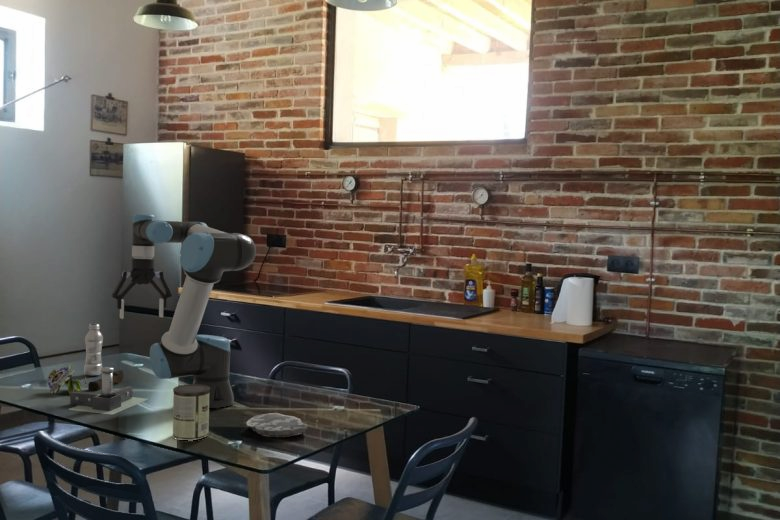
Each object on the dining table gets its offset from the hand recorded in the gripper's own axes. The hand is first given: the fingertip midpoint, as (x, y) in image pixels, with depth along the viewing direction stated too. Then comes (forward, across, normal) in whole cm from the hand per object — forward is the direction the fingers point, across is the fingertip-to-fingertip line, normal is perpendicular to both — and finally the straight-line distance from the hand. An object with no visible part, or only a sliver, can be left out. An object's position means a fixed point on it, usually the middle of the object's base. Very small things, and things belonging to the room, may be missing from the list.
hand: (141, 317), depth 255 cm
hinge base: (+26, +18, +16) cm, 36 cm away
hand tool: (+27, +8, -13) cm, 31 cm away
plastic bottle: (+27, +10, -32) cm, 43 cm away
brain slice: (+27, -25, +63) cm, 73 cm away
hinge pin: (+26, +15, +19) cm, 36 cm away
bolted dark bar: (+26, +9, +13) cm, 30 cm away
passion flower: (+27, +23, -8) cm, 37 cm away
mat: (+27, +13, +14) cm, 33 cm away
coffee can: (+27, -1, +57) cm, 63 cm away
